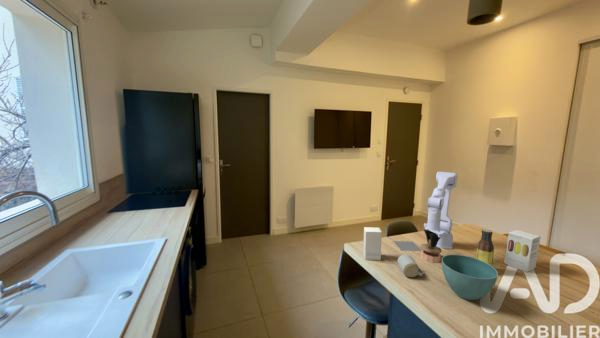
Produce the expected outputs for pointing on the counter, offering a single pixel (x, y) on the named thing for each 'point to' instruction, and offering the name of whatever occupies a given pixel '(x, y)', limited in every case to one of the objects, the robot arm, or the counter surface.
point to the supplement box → (522, 250)
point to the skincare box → (372, 243)
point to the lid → (430, 248)
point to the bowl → (430, 256)
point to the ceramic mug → (409, 266)
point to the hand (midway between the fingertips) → (431, 245)
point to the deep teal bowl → (468, 276)
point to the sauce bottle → (486, 247)
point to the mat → (407, 246)
